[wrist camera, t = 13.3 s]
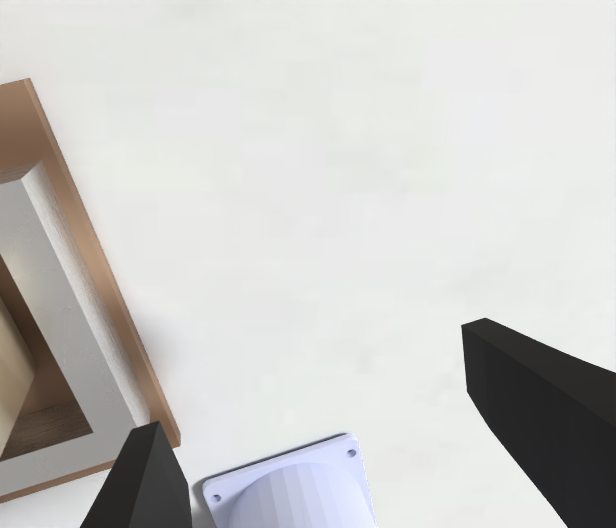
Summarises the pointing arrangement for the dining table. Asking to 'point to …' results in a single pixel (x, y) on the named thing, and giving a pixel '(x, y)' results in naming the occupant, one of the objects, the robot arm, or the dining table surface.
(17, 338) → the peg
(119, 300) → the collar board
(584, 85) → the dining table surface
